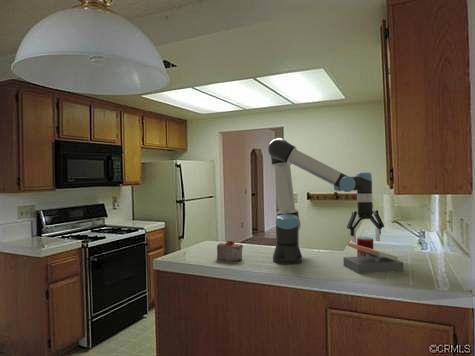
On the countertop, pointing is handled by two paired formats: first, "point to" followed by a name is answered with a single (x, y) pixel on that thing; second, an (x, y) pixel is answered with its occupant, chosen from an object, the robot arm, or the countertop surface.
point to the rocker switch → (372, 251)
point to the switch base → (372, 264)
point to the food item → (229, 251)
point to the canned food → (364, 244)
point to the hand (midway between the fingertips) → (365, 241)
